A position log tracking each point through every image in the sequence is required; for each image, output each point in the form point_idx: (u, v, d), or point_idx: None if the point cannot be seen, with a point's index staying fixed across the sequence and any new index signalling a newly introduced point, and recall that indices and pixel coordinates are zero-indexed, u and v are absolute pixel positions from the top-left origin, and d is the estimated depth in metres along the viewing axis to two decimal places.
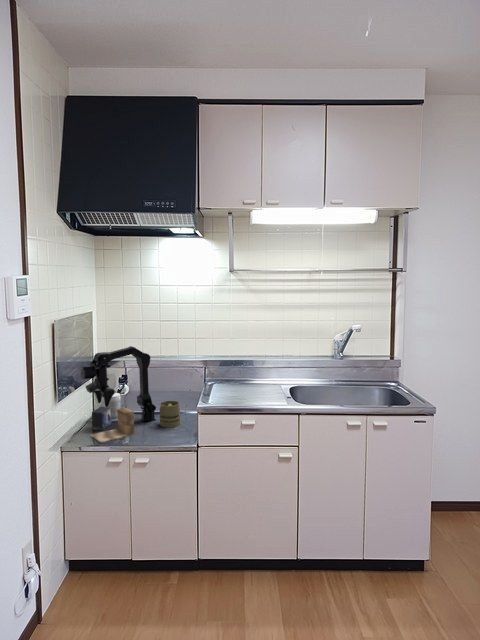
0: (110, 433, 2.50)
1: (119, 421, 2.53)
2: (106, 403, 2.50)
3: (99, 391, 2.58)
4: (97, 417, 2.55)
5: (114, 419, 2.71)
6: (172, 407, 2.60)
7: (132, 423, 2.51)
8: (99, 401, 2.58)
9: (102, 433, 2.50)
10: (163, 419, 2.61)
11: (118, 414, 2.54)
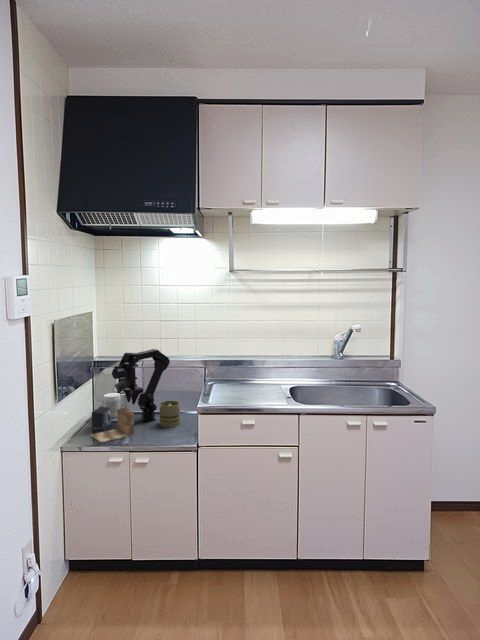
0: (110, 433, 2.50)
1: (119, 421, 2.53)
2: (133, 401, 2.59)
3: (128, 390, 2.64)
4: (97, 417, 2.55)
5: (114, 419, 2.71)
6: (172, 407, 2.60)
7: (132, 423, 2.51)
8: (128, 400, 2.64)
9: (102, 433, 2.50)
10: (163, 419, 2.61)
11: (118, 414, 2.54)
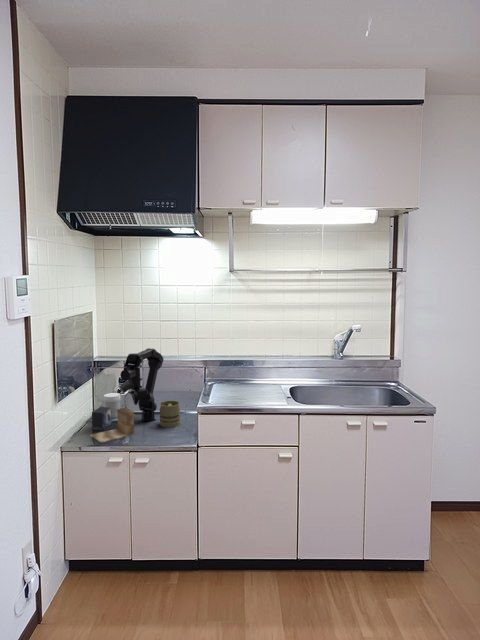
0: (110, 433, 2.50)
1: (119, 421, 2.53)
2: (135, 401, 2.58)
3: None
4: (97, 417, 2.55)
5: (114, 419, 2.71)
6: (172, 407, 2.60)
7: (132, 423, 2.51)
8: None
9: (102, 433, 2.50)
10: (163, 419, 2.61)
11: (118, 414, 2.54)
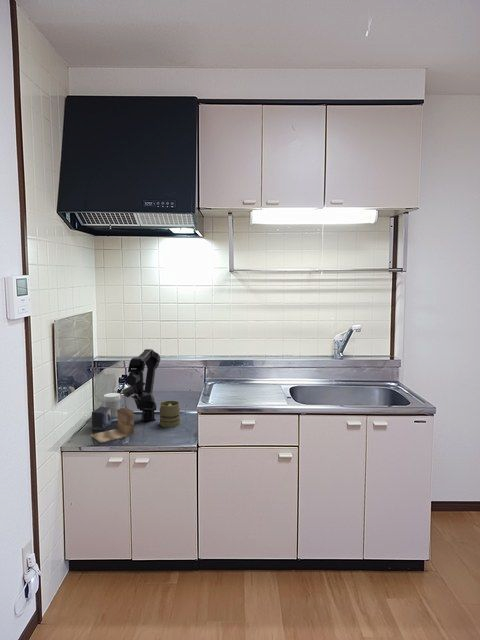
0: (110, 433, 2.50)
1: (119, 421, 2.53)
2: (139, 406, 2.56)
3: None
4: (97, 417, 2.55)
5: (114, 419, 2.71)
6: (172, 407, 2.60)
7: (132, 423, 2.51)
8: None
9: (102, 433, 2.50)
10: (163, 419, 2.61)
11: (118, 414, 2.54)
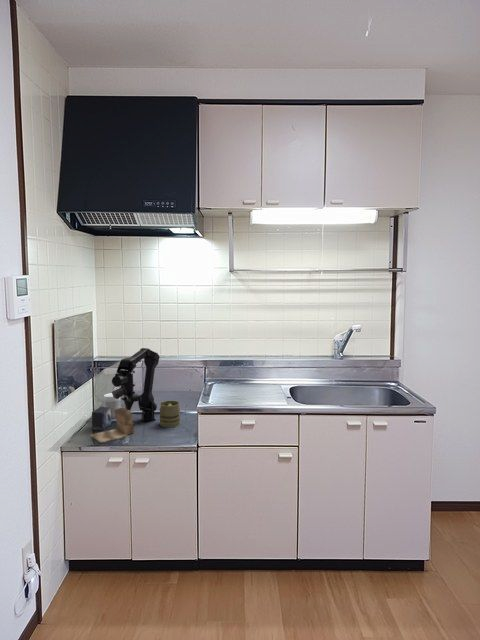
0: (110, 433, 2.50)
1: (118, 421, 2.53)
2: (128, 407, 2.52)
3: None
4: (97, 417, 2.55)
5: (114, 419, 2.71)
6: (172, 407, 2.60)
7: (131, 422, 2.50)
8: None
9: (102, 433, 2.50)
10: (163, 419, 2.61)
11: (116, 414, 2.53)
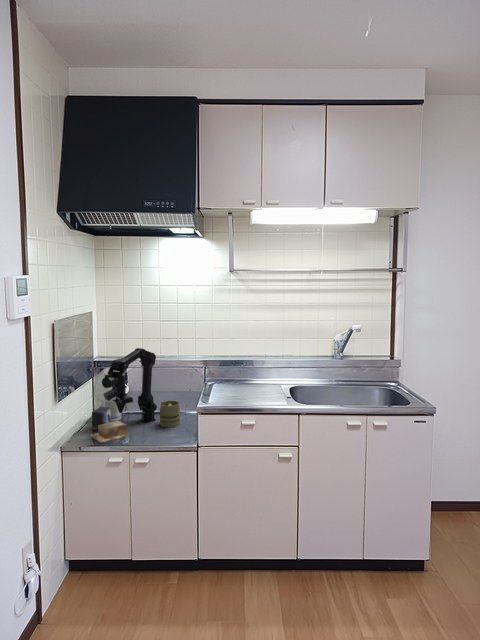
0: None
1: None
2: (120, 409, 2.50)
3: None
4: (97, 417, 2.55)
5: (114, 419, 2.71)
6: (172, 407, 2.60)
7: (117, 428, 2.45)
8: None
9: None
10: (163, 419, 2.61)
11: None
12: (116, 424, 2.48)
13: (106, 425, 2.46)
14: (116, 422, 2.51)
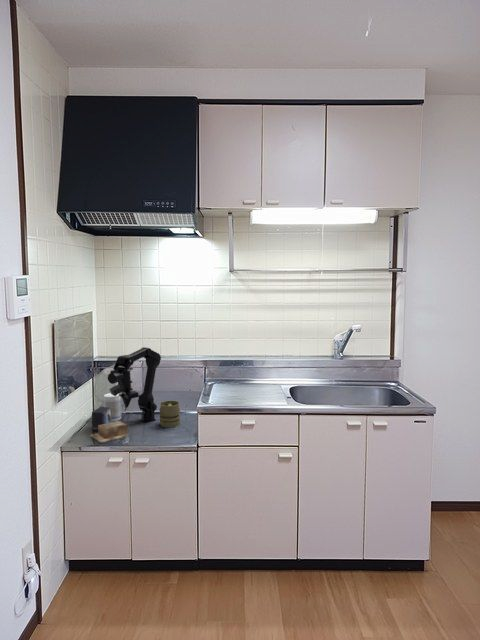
0: None
1: None
2: (126, 404, 2.55)
3: None
4: (97, 417, 2.55)
5: (114, 419, 2.71)
6: (172, 407, 2.60)
7: (117, 428, 2.45)
8: None
9: None
10: (163, 419, 2.61)
11: None
12: (116, 424, 2.48)
13: (106, 425, 2.46)
14: (116, 422, 2.51)
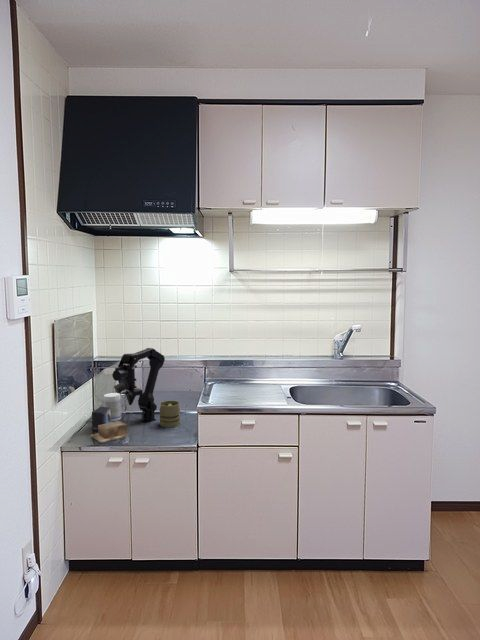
0: None
1: None
2: (130, 401, 2.57)
3: None
4: (97, 417, 2.55)
5: (114, 419, 2.71)
6: (172, 407, 2.60)
7: (117, 428, 2.45)
8: None
9: None
10: (163, 419, 2.61)
11: None
12: (116, 424, 2.48)
13: (106, 425, 2.46)
14: (116, 422, 2.51)
